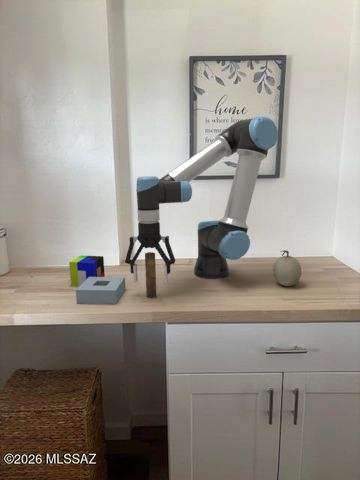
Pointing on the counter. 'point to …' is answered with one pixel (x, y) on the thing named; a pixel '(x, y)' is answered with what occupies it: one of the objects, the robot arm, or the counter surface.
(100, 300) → the socket block
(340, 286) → the counter surface
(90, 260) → the puzzle toy
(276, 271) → the fruit
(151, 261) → the dowel
